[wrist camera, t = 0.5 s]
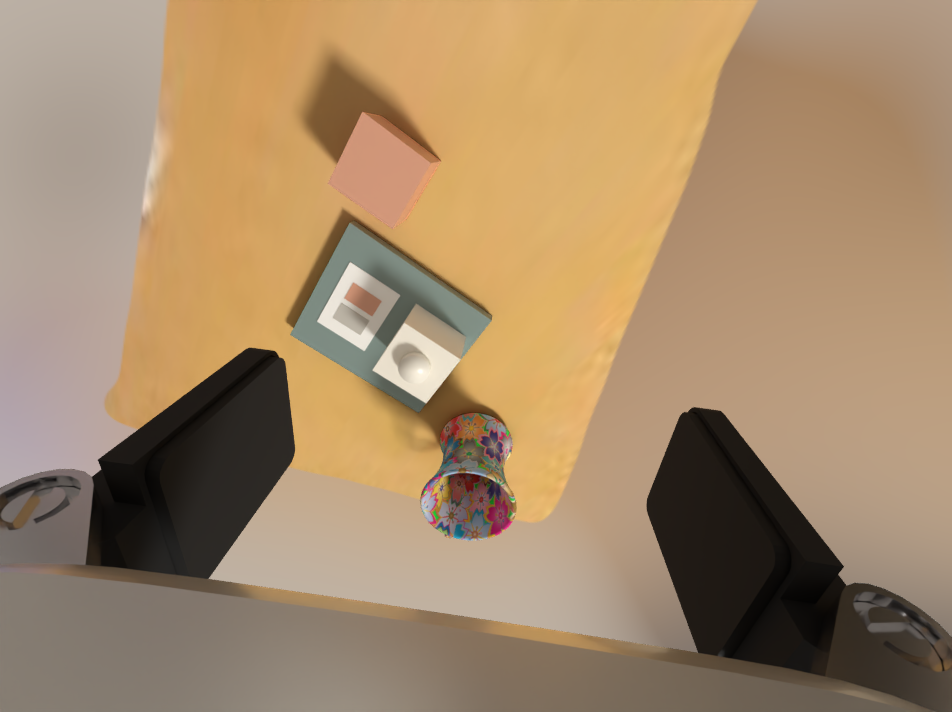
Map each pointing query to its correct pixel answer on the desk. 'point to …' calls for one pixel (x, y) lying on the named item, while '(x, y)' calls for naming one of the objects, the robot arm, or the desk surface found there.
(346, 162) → the terracotta brick
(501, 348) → the desk surface
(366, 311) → the baseplate
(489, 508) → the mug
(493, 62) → the desk surface
